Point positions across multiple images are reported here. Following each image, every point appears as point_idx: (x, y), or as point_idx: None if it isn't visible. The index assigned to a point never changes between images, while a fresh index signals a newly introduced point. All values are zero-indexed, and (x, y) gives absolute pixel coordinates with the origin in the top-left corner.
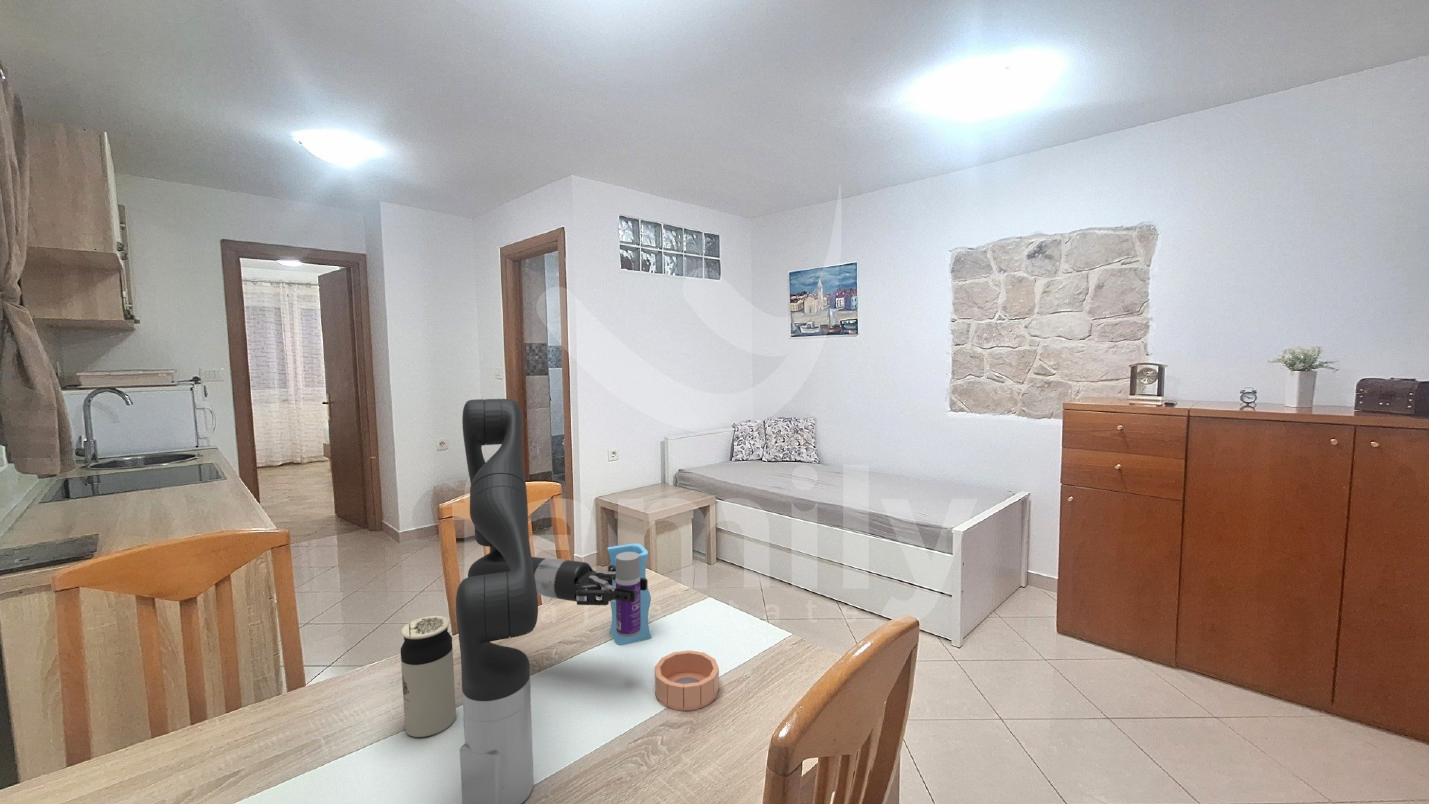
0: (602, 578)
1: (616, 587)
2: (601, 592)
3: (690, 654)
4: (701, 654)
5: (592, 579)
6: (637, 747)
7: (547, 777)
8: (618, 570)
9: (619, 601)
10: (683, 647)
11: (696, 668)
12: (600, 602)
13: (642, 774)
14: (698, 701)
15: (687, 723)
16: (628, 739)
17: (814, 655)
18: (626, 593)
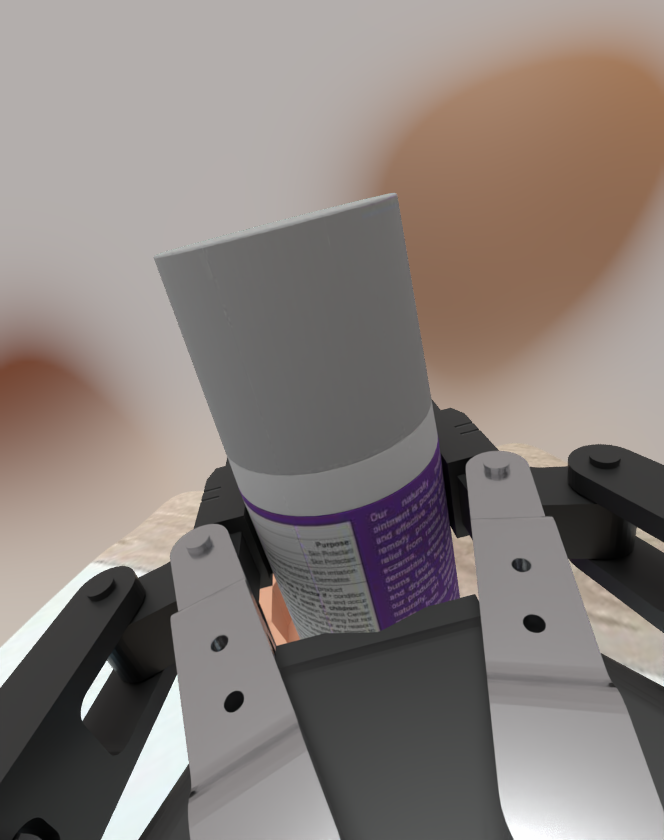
0: (367, 731)
1: (433, 500)
2: (654, 464)
3: (272, 619)
4: (269, 589)
5: (624, 714)
6: (622, 602)
7: None
8: (415, 325)
9: (453, 551)
10: (134, 786)
11: (284, 630)
12: (651, 555)
13: (659, 546)
14: None
15: (465, 564)
16: (628, 639)
17: (165, 504)
18: (460, 420)
